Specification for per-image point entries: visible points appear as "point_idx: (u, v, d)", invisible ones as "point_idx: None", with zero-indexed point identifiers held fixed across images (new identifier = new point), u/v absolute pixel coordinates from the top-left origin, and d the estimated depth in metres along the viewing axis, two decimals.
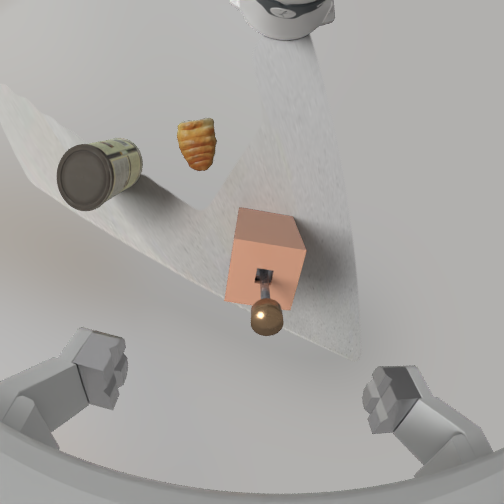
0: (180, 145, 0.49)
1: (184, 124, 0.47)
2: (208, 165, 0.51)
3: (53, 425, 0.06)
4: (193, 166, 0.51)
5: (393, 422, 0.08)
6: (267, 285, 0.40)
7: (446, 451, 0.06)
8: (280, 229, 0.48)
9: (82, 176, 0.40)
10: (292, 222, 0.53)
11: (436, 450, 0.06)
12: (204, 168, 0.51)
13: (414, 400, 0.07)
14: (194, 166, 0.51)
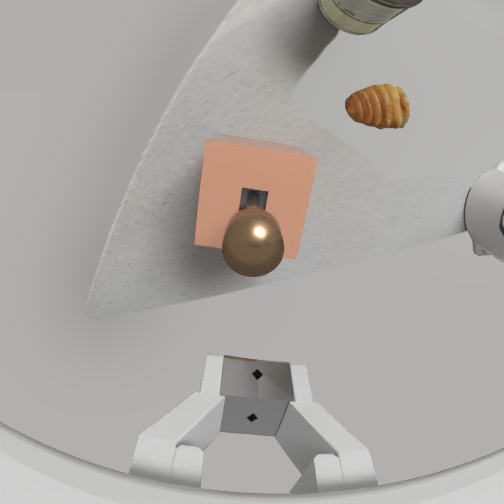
0: (379, 87, 0.35)
1: (405, 96, 0.35)
2: (354, 117, 0.37)
3: None
4: (354, 99, 0.36)
5: (268, 424, 0.07)
6: None
7: (309, 471, 0.05)
8: None
9: None
10: None
11: None
12: (351, 112, 0.37)
13: (285, 402, 0.07)
14: (354, 100, 0.36)
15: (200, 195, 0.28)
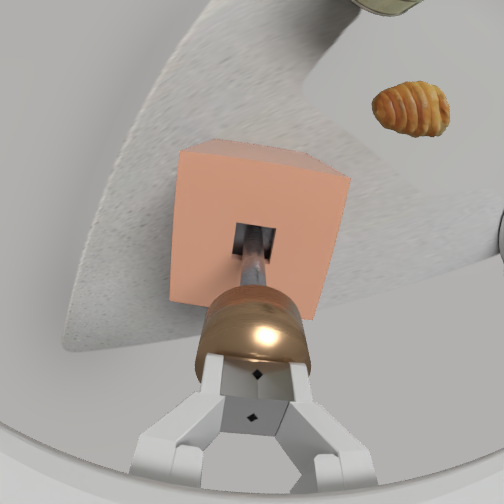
0: (414, 84, 0.26)
1: (444, 97, 0.26)
2: (385, 122, 0.28)
3: None
4: (384, 99, 0.27)
5: (268, 424, 0.07)
6: None
7: (309, 471, 0.05)
8: None
9: None
10: None
11: None
12: (381, 115, 0.28)
13: (285, 402, 0.07)
14: (384, 101, 0.27)
15: (174, 233, 0.18)
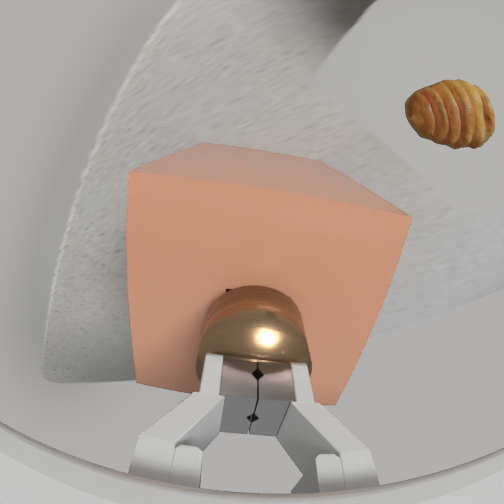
0: (454, 84, 0.19)
1: (489, 101, 0.19)
2: (422, 130, 0.22)
3: None
4: (421, 101, 0.20)
5: (269, 424, 0.07)
6: None
7: (311, 471, 0.05)
8: None
9: None
10: None
11: None
12: (418, 122, 0.21)
13: (286, 402, 0.07)
14: (421, 104, 0.20)
15: (131, 301, 0.11)
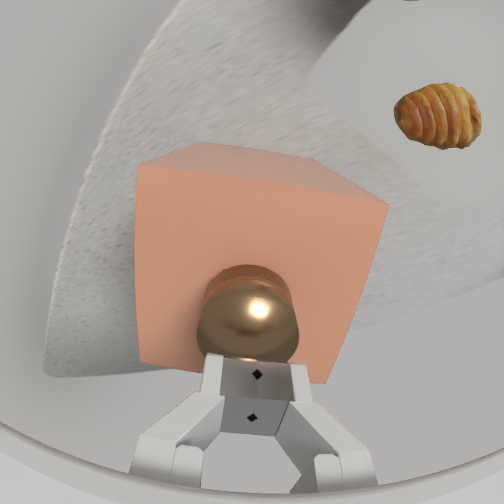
0: (441, 87, 0.21)
1: (475, 103, 0.20)
2: (410, 133, 0.23)
3: None
4: (409, 105, 0.22)
5: (268, 424, 0.07)
6: None
7: (309, 471, 0.05)
8: None
9: None
10: None
11: None
12: (406, 125, 0.23)
13: (285, 402, 0.07)
14: (409, 108, 0.22)
15: (137, 282, 0.13)
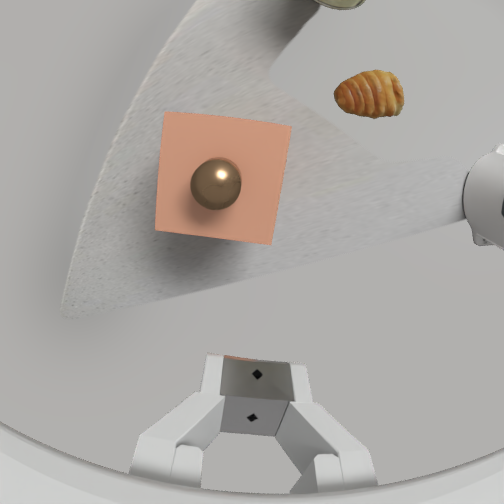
0: (369, 73, 0.32)
1: (398, 81, 0.32)
2: (345, 108, 0.34)
3: None
4: (343, 88, 0.33)
5: (268, 424, 0.07)
6: None
7: (309, 471, 0.05)
8: None
9: None
10: None
11: None
12: (341, 102, 0.34)
13: (285, 402, 0.07)
14: (343, 90, 0.33)
15: (159, 173, 0.24)
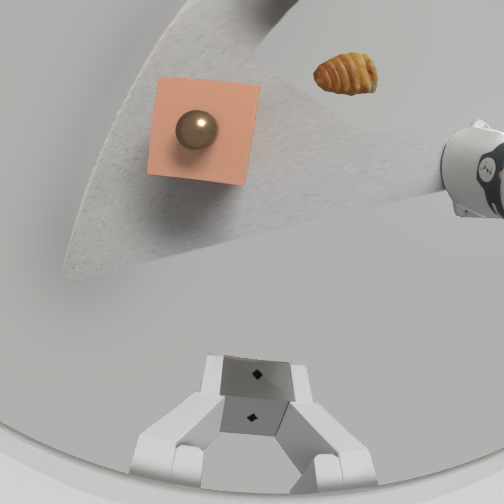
0: (345, 55, 0.36)
1: (371, 61, 0.35)
2: (324, 86, 0.38)
3: None
4: (321, 69, 0.37)
5: (268, 424, 0.07)
6: None
7: (309, 471, 0.05)
8: None
9: None
10: None
11: None
12: (320, 82, 0.38)
13: (285, 402, 0.07)
14: (321, 71, 0.37)
15: (152, 126, 0.27)
